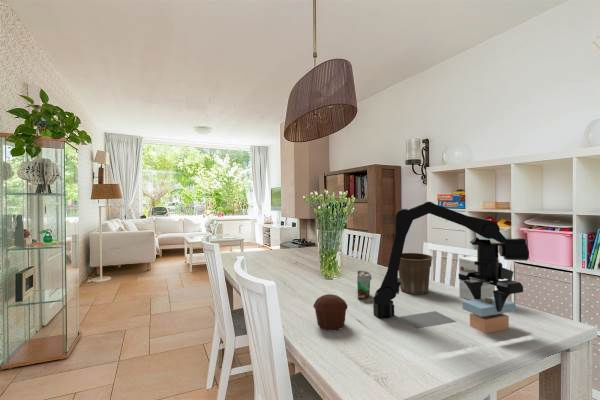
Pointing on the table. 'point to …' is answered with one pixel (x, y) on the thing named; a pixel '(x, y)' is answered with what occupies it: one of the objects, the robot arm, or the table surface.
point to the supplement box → (464, 291)
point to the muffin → (330, 312)
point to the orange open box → (489, 322)
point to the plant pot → (415, 272)
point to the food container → (363, 284)
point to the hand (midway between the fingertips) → (488, 307)
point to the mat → (426, 319)
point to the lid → (487, 306)
